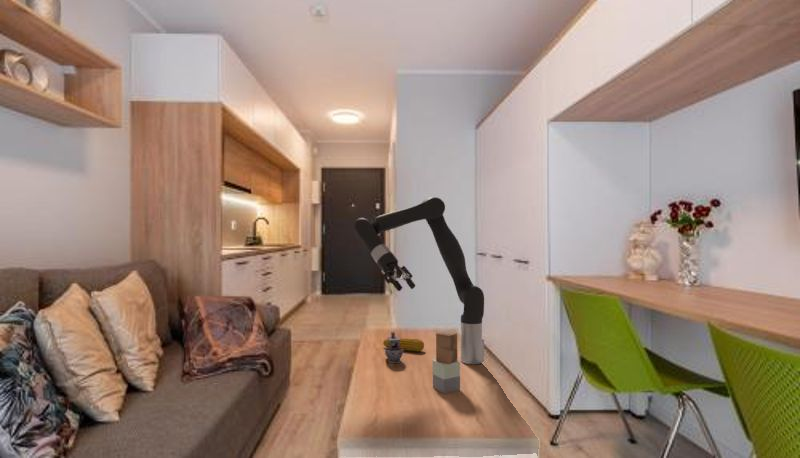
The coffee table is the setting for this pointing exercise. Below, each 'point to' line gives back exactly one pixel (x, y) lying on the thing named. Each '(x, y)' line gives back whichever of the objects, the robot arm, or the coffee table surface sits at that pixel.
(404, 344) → the food
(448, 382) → the tower base
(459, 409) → the coffee table surface
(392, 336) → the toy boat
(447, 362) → the walnut block
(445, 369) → the tower top
